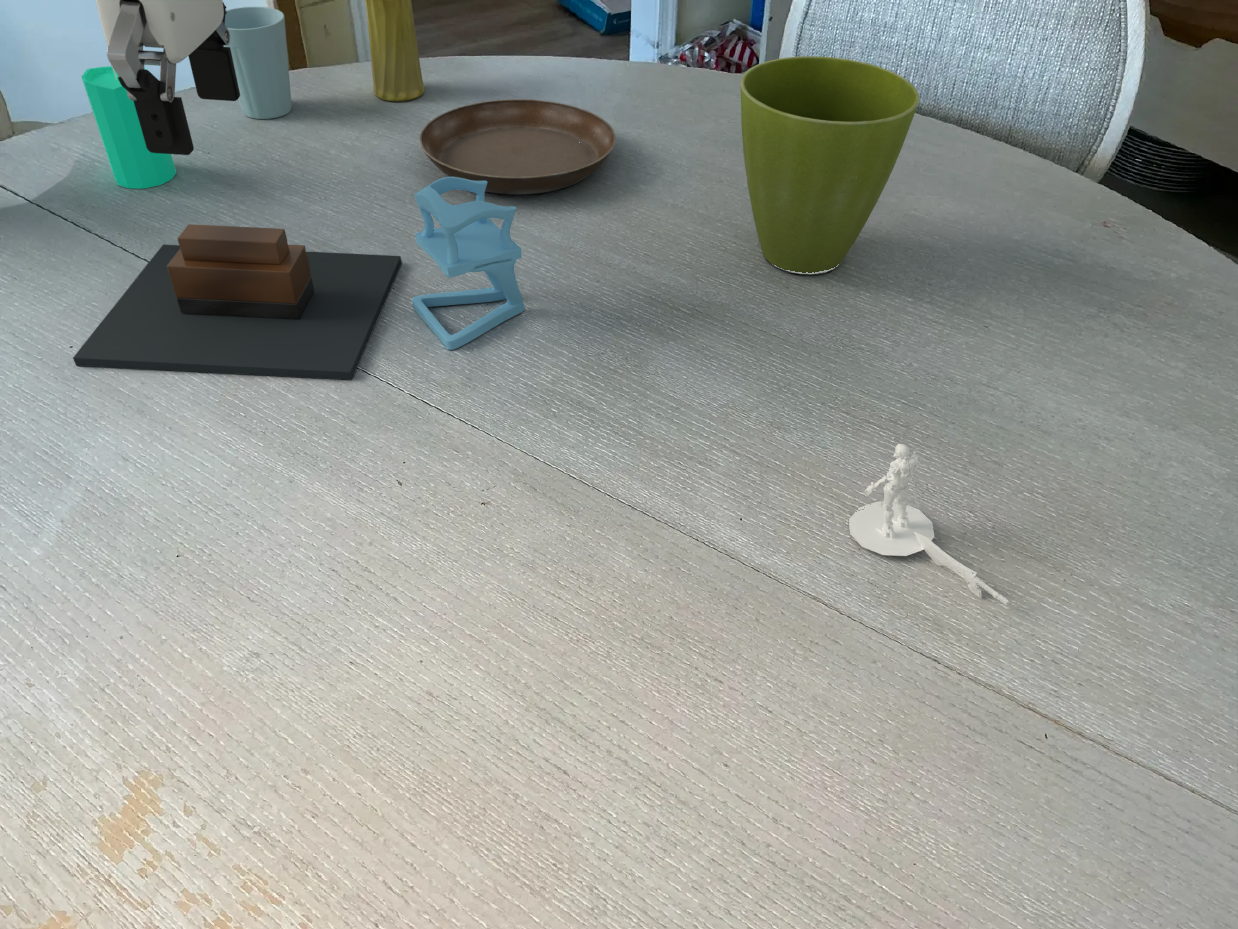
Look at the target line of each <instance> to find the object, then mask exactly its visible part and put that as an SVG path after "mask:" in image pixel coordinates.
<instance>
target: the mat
mask: <svg viewBox="0 0 1238 929" xmlns="http://www.w3.org/2000/svg"><path fill="white" fill-rule="evenodd" d="M179 250H180V246H179V244H161V246H160V248H159V249H158V250H157V251H156V252H155V254H154V255H153V257H151V258H150V260H149V261H148V263H147V264H146V265H145V267H144V268H143V269H142V270H141V271H140V273H139V274H138V275H137V276H136V278H135V279H134V280H133V281H132V283H131V284H130V285H129V286H128V287H127V289H126V291H125V292H124V293H123V294H122V296H121V297H120V298H119V299H118V301H117V302H116V303H115V304H114V305H113V307H112V308H111V309H110V310H109V312H108V313H107V314H106V316H105V317H104V318H103V319H102V321H101V322H100V323H99V324H98V326H97V327H95V329H94V331H93V332H92V333H91V334H90V335H89V337H88V338H87V339H86V341H85V342H84V343H83V344H82V345H81V347H80V348H79V349H78V351H77V352H76V353H75V354H74V356H73V357H72V360H73V362H74V365H75V366H76V367H93V368H94V367H95V368H111V369H112V368H114V369H115V368H116V369H134V370H151V371H152V370H154V371H172V372H190V373H191V372H192V373H209V374H230V375H248V376H249V375H251V376H269V377H285V378H286V377H289V378H308V379H309V378H310V379H327V380H347V381H352V380H353V379H354V376H355V374H356V372H357V369H358V367H359V365H360V362H361V360H362V357H363V355H364V352H365V350H366V348H367V346H368V344H369V341H370V338H371V337H372V334H373V331H374V329H375V327H376V324H377V322H378V320H379V318H380V315H381V313H382V310H383V308H384V306H385V303H386V300H387V299H388V297H389V294H390V292H391V289H392V287H393V285H394V282H395V280H396V279H397V278H396V277H397V275H398V273H399V271H400V269H401V267H402V266H401V265H402V256H401V255H387V254H370V253H369V254H367V253H348V252H346V253H345V252H329V251H328V252H327V251H308V250H306V253H307V258H308V263H309V268H310V273H311V277H312V282H313V287H314V293H313V295H312V297H311V299H310V301H309V303H308V304H307V306H306V308H305V310H304V312H303V314H302V316H301V318H300V319H286V318H266V317H246V316H226V315H207V314H187V313H181V311H180V308H179V304H178V301H177V297H176V294H175V291H174V288H173V285H172V281H171V278H170V275H169V272H168V268H167V265H168V264H169V263H170V261H171V260H172V259H173V257H174V256H175V255H176V253H177V252H178V251H179Z"/></svg>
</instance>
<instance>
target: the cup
mask: <svg viewBox="0 0 1238 929" xmlns="http://www.w3.org/2000/svg"><path fill="white" fill-rule="evenodd" d="M226 11H227V13H226V15H225V26H226V28H227V29H228V31H229V33H230V44H229V45H228V46H226V45H223V46H224V47H230V49H231V53H232V58H233V63H234V68H235V72H236V77H237V82H238V87H239V92H240V97H239V98H238V99H237V100H238V102H239V104H240V108H241V110H242V113H243V115H244V116H246V117H248V118H250V119H254V120H271V119H272V120H273V119H276V118H281V117H283V116H286V115H287V114H288V113H290V112H291V111H292V108H293V107H292V106H293V105H292V93H291V82H290V80H291V79H290V68H289V57H288V46H287V31H286V21H285V20H286V19H285V14H284V13H283V12H282V11H281V10H279V9H277V8H273V7H267V6H243V7H235V8H229V9H226Z"/></svg>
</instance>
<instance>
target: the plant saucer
mask: <svg viewBox="0 0 1238 929" xmlns="http://www.w3.org/2000/svg"><path fill="white" fill-rule="evenodd" d="M616 135H617V134H616V132H615V130H614V129H613V127H612V126H611V124H610V123H609V122H608V121H606V120H605V119H604V118H603V117H600V116H599V115H597V114H595V113H593V112H592V111H589V110H586V109H584V108H582V107H581V108H580V107H578V106H574V105H570V104H565V103H561V102H555V101H549V100H541V99H529V98H528V99H527V98H526V99H525V98H523V99H522V98H510V99H507V98H506V99H496V100H495V99H494V100H487V101H486V100H485V101H480V102H474V103H470V104H466V105H462V106H459V107H455V108H453V109H450V110H447V111H444V112H442V113H441V114H439V115H437V116H435V117H434V118H432V119H431V120H429V121H428V122H427V123H426V124H425V125H424V127H423V128H422V129H421V131H420V134H419V137H418V138H419V145H420V147H421V149H422V151H423V152H424V154H425V155H426V156H427V158H428V159H429V160H430V161H431V163H432V164H433V165H434V166H435V167H436V168H438V169H439V171H441V172H443V173H444V174H445V175H446V176H447V177H459V178H464V179H468V180H474V181H487V186H486V189H485V192H488V193H492V194H493V193H494V194H501V195H534V194H535V195H536V194H542V193H549V192H554V191H557V190H561V189H564V188H567V187H570V186H572V185H574V184H577V183H579V182H581V181H582V180H585V179H586V178H587V177H589V176H590V175H591V174H593V173H594V172H595V171H596V170H598V168H600V166H602V164H603V163H604V162H605V161H606V160H607V158H608V157H609V156H610V154H611V153H612V151H613V149H614V147H615V145H616V142H617V136H616ZM579 142H580V143H579Z"/></svg>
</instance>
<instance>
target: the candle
mask: <svg viewBox="0 0 1238 929" xmlns="http://www.w3.org/2000/svg"><path fill="white" fill-rule="evenodd" d="M144 69H145V70H147V68H146V67H145V66H144ZM118 77H119V76H118V74H117V73H116V71H115V70H114V68H113V66H112V65H111V64H110V65H108V66H97V67H91V68H86V69H85V71H84V72H83V74H82V75H81V80H82V83H83V86H84V89H85V92H86V96H87V98H88V102H89V105H90V107H91V110H92V114H93V116H94V120H95V123H96V126H97V130H98V131H99V135H100V138H101V141H102V144H103V148H104V150H105V153H106V156H107V159H108V162H109V165H110V168H111V172H112V174H113V177H114V178H113V179H114V180H115V183H116V184H117V186H120V187H123V188H126V189H139V190H140V189H141V190H142V189H143V190H144V189H148V188H153V187H159V186H162V185H163V184H166V183H168V182H169V181H171V180H173V179H174V177H175V176H176V174H177V170H176V166H175V163H174V159H173V156H172V155H173V154H162V153H152V152H150V151H148V149H147V147H146V144H145V140H144V137H143V133H142V130H141V126H140V122H139V119H138V115H137V112H136V108H135V105H134V101H133V100H130V99H129V97H128V95H127V90H126V89H125V88H124V87H122V85H121V84H120V82H119V80H118Z"/></svg>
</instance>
